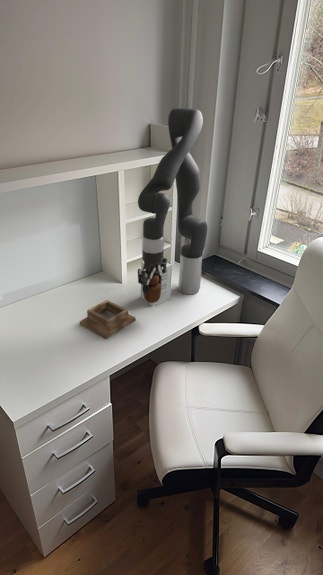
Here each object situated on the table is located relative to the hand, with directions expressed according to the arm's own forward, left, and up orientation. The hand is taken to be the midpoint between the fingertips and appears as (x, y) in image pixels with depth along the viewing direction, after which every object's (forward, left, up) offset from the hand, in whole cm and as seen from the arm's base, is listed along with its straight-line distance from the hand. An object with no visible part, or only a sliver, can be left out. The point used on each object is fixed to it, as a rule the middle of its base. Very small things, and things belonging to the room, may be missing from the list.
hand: (152, 288), depth 153 cm
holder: (+12, -11, -14) cm, 22 cm away
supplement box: (-14, -9, -14) cm, 22 cm away
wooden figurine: (0, 0, -6) cm, 6 cm away
